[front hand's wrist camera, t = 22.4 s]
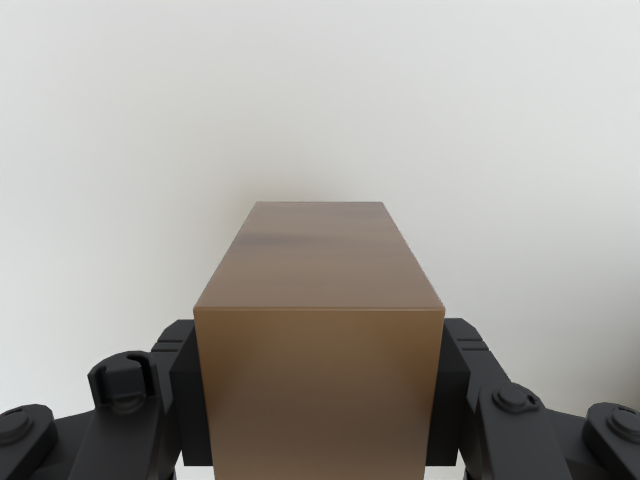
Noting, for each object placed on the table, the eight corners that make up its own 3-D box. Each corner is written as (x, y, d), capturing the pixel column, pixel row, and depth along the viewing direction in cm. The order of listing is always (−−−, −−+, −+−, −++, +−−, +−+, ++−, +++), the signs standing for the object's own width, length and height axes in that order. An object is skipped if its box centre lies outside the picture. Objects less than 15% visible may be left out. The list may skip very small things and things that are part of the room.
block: (375, 329, 17) (419, 515, 9) (263, 329, 17) (218, 516, 9) (382, 201, 15) (447, 308, 7) (256, 201, 15) (191, 308, 7)
